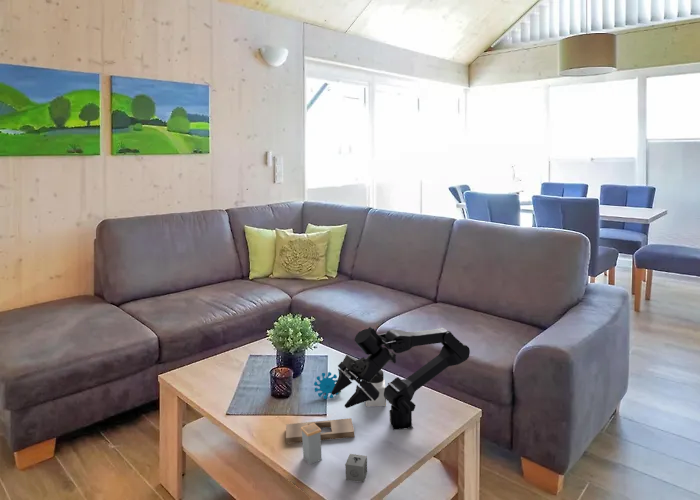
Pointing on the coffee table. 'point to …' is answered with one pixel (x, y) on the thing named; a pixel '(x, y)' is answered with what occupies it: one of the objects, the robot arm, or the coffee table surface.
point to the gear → (326, 385)
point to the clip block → (311, 443)
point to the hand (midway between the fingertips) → (338, 400)
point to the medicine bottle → (380, 386)
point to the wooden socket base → (338, 427)
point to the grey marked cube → (356, 468)
